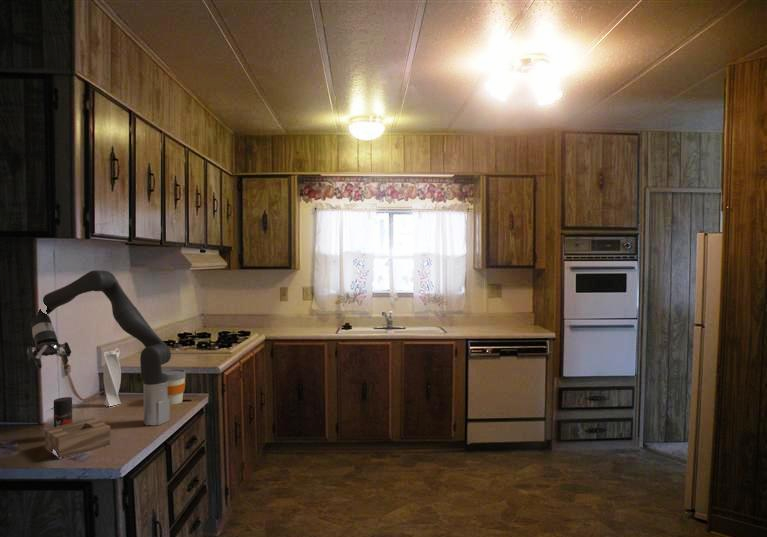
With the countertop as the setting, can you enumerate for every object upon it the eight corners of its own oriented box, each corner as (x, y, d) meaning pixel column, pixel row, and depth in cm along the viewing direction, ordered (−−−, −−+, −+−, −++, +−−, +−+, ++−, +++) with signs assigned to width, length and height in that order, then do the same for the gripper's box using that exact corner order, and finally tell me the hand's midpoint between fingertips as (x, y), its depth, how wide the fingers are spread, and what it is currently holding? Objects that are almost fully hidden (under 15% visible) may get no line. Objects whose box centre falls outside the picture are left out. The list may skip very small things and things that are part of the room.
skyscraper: (125, 404, 217) (124, 347, 217) (109, 408, 210) (108, 350, 210) (116, 402, 221) (115, 346, 221) (100, 406, 214) (99, 348, 214)
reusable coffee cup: (167, 407, 210) (167, 376, 211) (153, 403, 217) (152, 373, 217) (191, 400, 221) (191, 370, 221) (176, 397, 228) (176, 368, 228)
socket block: (110, 444, 165) (109, 426, 165) (59, 459, 152) (58, 439, 152) (93, 435, 175) (93, 417, 175) (44, 448, 162) (44, 429, 162)
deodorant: (51, 441, 169) (51, 402, 170) (56, 435, 175) (56, 398, 175) (70, 438, 172) (70, 400, 172) (74, 433, 177) (73, 396, 177)
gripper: (25, 331, 181) (33, 362, 174) (66, 328, 192) (75, 357, 185) (21, 343, 184) (29, 374, 177) (62, 339, 195) (71, 368, 188)
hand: (53, 365), depth 181 cm, fingers open, 8 cm apart
